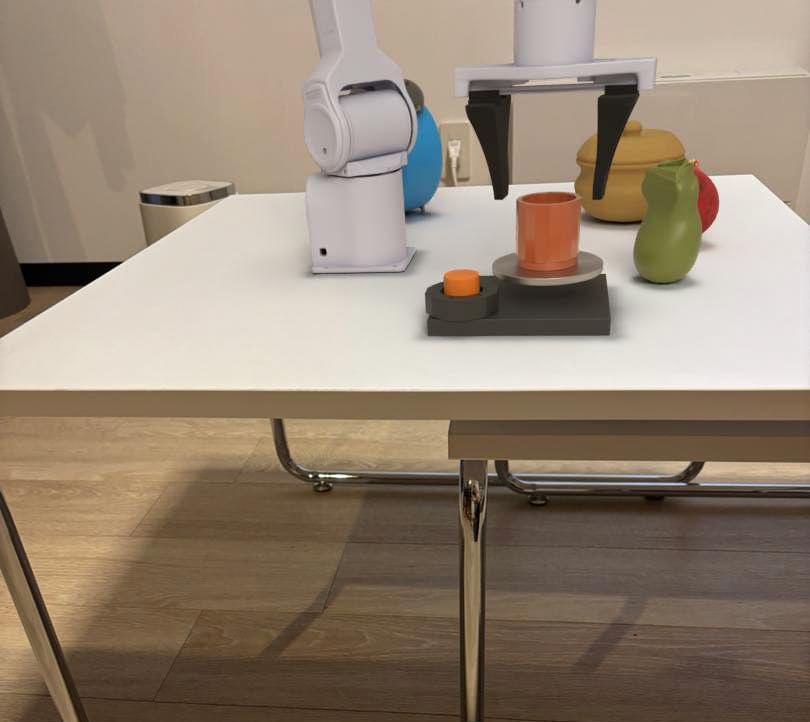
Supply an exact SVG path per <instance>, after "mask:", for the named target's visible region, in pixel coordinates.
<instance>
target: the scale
mask: <svg viewBox="0 0 810 722" xmlns="http://www.w3.org/2000/svg"><path fill="white" fill-rule="evenodd" d="M479 285H480V293H477V294H473V295H468V296H450V295H445V294H444V281H440V282H437V283H435V284H433V285H432V284H431V285H430V286H428V287H427V288H426V290H425V292H424V304H425V313H426V314H427V315H428V316H427V320H426V326H427V327H426V328H427V329H426V330H427V337H559V336H560V337H565V336H566V337H572V336H573V337H581V336H582V337H583V336H586V337H590V336H591V337H592V336H596V337H597V336H603V337H604V336H607V337H609V336H610V335H611V325H612V324H611V323H612V322H611V321H612V316H611V307H610V300H609V299H610V297H609V289H608V280H607V274H606V273H600V274H599V275H598V276H596V277H594V278H592V279H589V280H586V281H583V282H578V283H573V284H567V285H557V286H529V285H519V284H513V283H509V282H505V281H502V280H500V279H498V278H496V277H495V276H494V275H493V274H492V275H479Z"/></svg>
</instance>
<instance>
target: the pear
mask: <svg viewBox="0 0 810 722" xmlns="http://www.w3.org/2000/svg"><path fill="white" fill-rule="evenodd" d="M688 161H689V160H688V158H687V157H685V158H684V159H682V160H681V159H680V160H678V161H677V160H676V161H670V160H664V161H662V162H661V163H660V164H658V165H657V166H656V167H652V168H651V169H649V170H646V172H645V178H644V180H643V182H642V185H641V191H642V194H643V196H644V198H645V200H646V202H647V210H646V214H645V217H644V219H643V220H641V223H640V225H639V228H638V230H637V233H636V236H635V239H634V243H633V249H632V259H633V264H634V267H635V269H636V271H637V272H638V274H639V275H640V276H641V277H642V278H644V279H645V280H647V281H649V282H653V283H656V284H670V283H673V282H676V281H679V280H681V279H683V278H684V277H685V276H686V275H688V273H689V272H690V271H691V270H692V268H693V267H694V266H695V264H696V261H697V259H698V256H699V253H700V249H701V245H702V238H703V234H702V224H701V219H700V215H699V212H698V207H697V201H698V195H699V183H698V177H697V175H696V174H695V173H693V166H694V164H693V162H690V163H689V162H688Z"/></svg>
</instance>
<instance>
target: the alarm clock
mask: <svg viewBox="0 0 810 722" xmlns="http://www.w3.org/2000/svg"><path fill="white" fill-rule="evenodd" d="M404 83H405V87H406V90H407V93H408V95H409V97H410V99H411V101H412V103H413V105H414V108H415V111H416V115H417V123H418V131H417V138H416V142H415V145H414V147H413V149H412V150H411V152H410V153H409V154H408V155H407V165H403V166H401V168H402V179H403V196H404V212H409V211H413V210H417V209H420V211H421V213H422V214H423V215H425V214H426V207H425V206H426V205H427V204H428V203H429V202H430V201H431V200H432V199H433V198H434V196H435V195H436V193H437V191H438V188H439V185H440V182H441V179H442V173H443V160H444V157H443V155H444V154H443V146H442V145H443V144H442V140H441V135H440V132H439V130H438V129H439V128H438V126H437V124H436V122H435V119H434V117H433V115H432V113H431V112H430V109H428V107H427V105H425V95H424V92H423V90H422V89H421V87H420V86H419V84H417V83H416V82H414V81H413V80H411V79H408V78H404ZM360 92H366V91H365V90H363V89H353V90H349V93H348V94H353V93H360Z"/></svg>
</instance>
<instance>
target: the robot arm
mask: <svg viewBox="0 0 810 722" xmlns="http://www.w3.org/2000/svg"><path fill="white" fill-rule="evenodd" d="M308 5H309V8H310V14H311V20H312V24H313V28H314V33H315V38H316V43H317V49H318V52H319V58H320V60H319V61H318V63H317V64H316V65H315V67H314V69H313V70H312V72H311V73H310V74H309V76H308V77H307V79H305V82H303V84H302V87H301V88H300V92H301V98H302V102H303V115H304V116H303V117H304V118H303V135H304V142H305V145H306V148H307V151H308V153H309V155H310V157H311V158H312V160H313V162H314V163H315V164H316V165H317V166H318V168H320V171H319V172H313V173H310V174H309V175H308V177H307V179H306V184H305V198H304V199H305V212H306V219H307V227H308V238H309V245H310V253H311V261H312V267H311V273H313V274H339V273H341V274H344V273H348V274H349V273H395V272H396V273H397V272H398V273H399V272H404V271H405V270H406V269H407V267H408V265H409V264H410V262H411V260H412V259H413V257H414V255H415V254H416V252H417V247H415V246H407V231H406V230H407V229H406V213H405V212H406V211H405V212H404V196H403V179H402V168H401V166H403V165H407V155H408V154H409V153H410V152H411V150H412V149H413V147H414V145H415V142H416V138H417V131H418V123H417V115H416V111H415V108H414V105H413V103H412V101H411V99H410V97H409V95H408V93H407V90H406V87H405V83H404V79H405V77H404V73H403V70H402V68H401V67H400V66H399V65H398V64H397V63H396V62H395V61H394V60H392V59H391V58H390V57H389V56H388V55H386V54H385V53H384V52H383V51H382V50H381V49H380V48H379V46H378V45H379V44H378V39H377V35H376V28H375V23H374V17H373V12H372V6H371V0H308ZM596 17H597V0H513V62H510V63H509V62H508V63H497V64H485V65H484V64H483V65H469V66H467V65H466V66H459V67H455V68H454V69H453V91H454V96H453V97H454V98H455V99H458V98H459V99H460V98H462V99H463V98H468V100H467V104H465V106H464V110H465V114H466V117H467V119H468V122H469V123H470V125H471V128H472V129H473V131H474V134H475V136H476V137H477V140H478V142H479V144H480V147H481V150H482V153H483V155H484V159H485V162H486V165H487V168H488V173H489V177H490V181H491V186H492V193H493V200H494V201H503V200H504V199H506V197H508V196H509V190H510V189H509V188H510V172H509V171H510V170H509V169H510V167H509V128H510V115H511V104H512V95H530V94H556V93H557V94H559V93H581V92H583V93H584V92H604V93H603V94H601V95H599V96H598V97H597V105H596V106H597V123H596V124H597V126H596V127H597V129H596V130H597V131H596V134H597V155H596V164H595V172H594V180H593V194H592V200H602V199H603V197H604V195H605V190H606V184H607V179H608V175H609V171H610V167H611V164H612V160H613V157H614V154H615V151H616V148H617V146H618V143H619V140H620V138H621V135H622V133H623V130H624V128H625V126H626V124H627V122H628V121H629V119H630V117H631V114H632V113H633V110H634V108H635V106H636V104H637V102H638V100H639V98H640V96H641V95H640V92H641V91H653V90H654V89H655V87H656V80H657V79H656V78H657V69H658V56H649V57H647V56H646V57H611V58H609V57H608V58H594V56H595V53H594V52H595V36H596V35H595V34H596V19H597V18H596ZM573 78H574V79H575V78H576V81H577V82H578V83H558V84H557V83H554V84H534V85H533V84H531V85H526V83H529V82H530V81H543V80H544V81H545V80H561V79H573ZM353 89H363V90H365V91H366V92H360V93H353V94H349V93H347V94H340V92H345V91H350V90H353Z"/></svg>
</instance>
